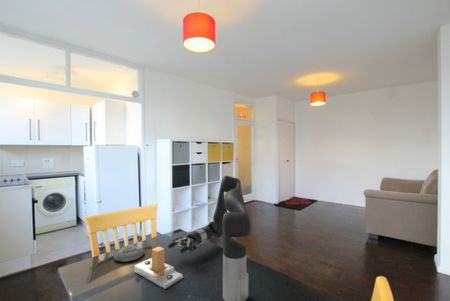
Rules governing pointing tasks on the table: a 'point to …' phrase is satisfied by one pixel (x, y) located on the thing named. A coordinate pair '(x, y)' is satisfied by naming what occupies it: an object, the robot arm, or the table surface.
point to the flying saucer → (129, 253)
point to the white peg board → (158, 274)
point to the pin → (157, 259)
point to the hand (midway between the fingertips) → (174, 248)
